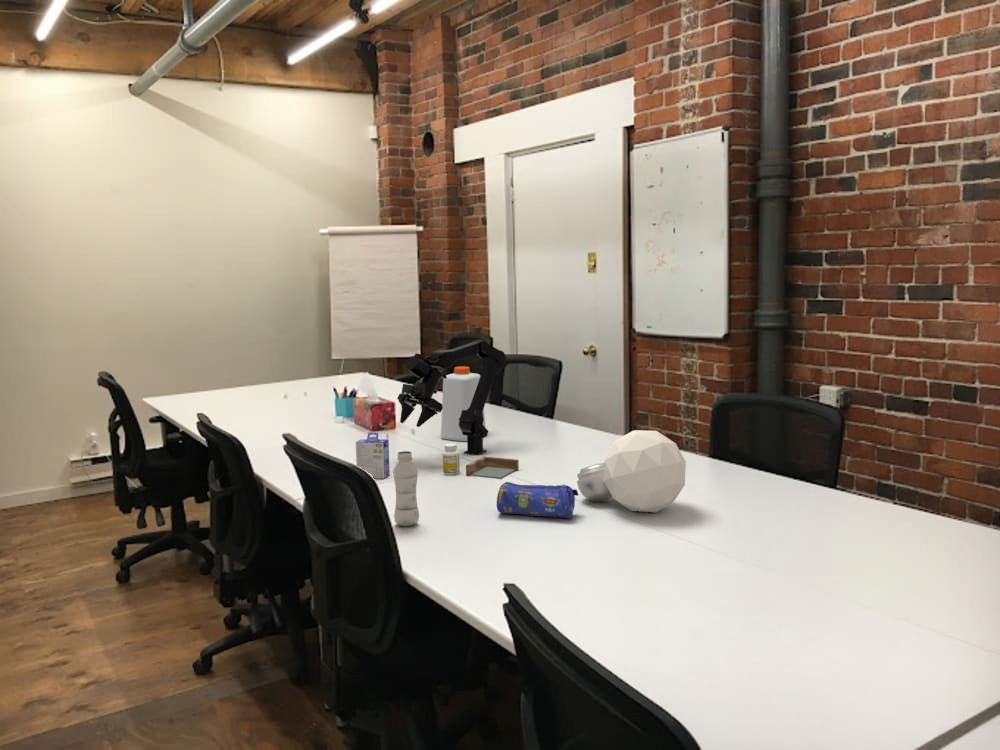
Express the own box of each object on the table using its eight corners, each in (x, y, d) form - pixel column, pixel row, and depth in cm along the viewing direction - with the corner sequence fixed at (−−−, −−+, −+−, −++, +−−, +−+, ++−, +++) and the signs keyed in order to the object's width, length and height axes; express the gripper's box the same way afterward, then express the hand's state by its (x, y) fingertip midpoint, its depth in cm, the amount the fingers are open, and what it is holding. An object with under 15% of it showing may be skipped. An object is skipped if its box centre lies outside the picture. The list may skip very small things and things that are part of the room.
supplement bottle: (450, 470, 286) (449, 442, 284) (462, 472, 283) (462, 443, 281) (440, 474, 281) (439, 445, 280) (452, 476, 278) (452, 447, 277)
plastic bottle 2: (490, 435, 338) (488, 365, 334) (468, 443, 326) (466, 370, 322) (459, 432, 346) (457, 363, 342) (436, 439, 334) (434, 368, 330)
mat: (485, 467, 288) (485, 466, 288) (515, 470, 284) (515, 469, 283) (470, 475, 278) (470, 474, 278) (501, 479, 274) (501, 477, 274)
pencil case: (579, 514, 236) (578, 480, 235) (572, 523, 228) (572, 489, 227) (503, 508, 243) (502, 476, 241) (494, 517, 235) (493, 484, 233)
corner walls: (483, 466, 290) (483, 456, 290) (518, 469, 285) (518, 459, 284) (466, 475, 279) (465, 465, 278) (501, 479, 273) (501, 468, 273)
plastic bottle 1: (394, 521, 232) (392, 450, 229) (419, 520, 233) (417, 449, 230) (394, 529, 226) (391, 456, 223) (419, 528, 226) (417, 455, 224)
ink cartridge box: (390, 474, 282) (389, 432, 280) (385, 479, 276) (383, 435, 274) (362, 474, 284) (360, 431, 282) (356, 478, 278) (354, 434, 276)
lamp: (671, 510, 219) (648, 421, 223) (569, 532, 240) (550, 450, 244) (711, 500, 236) (689, 417, 240) (612, 521, 257) (594, 445, 261)
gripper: (396, 370, 295) (376, 411, 291) (429, 375, 281) (409, 418, 277) (418, 385, 302) (399, 424, 298) (451, 391, 288) (432, 432, 284)
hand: (409, 424), depth 289 cm, fingers open, 9 cm apart
